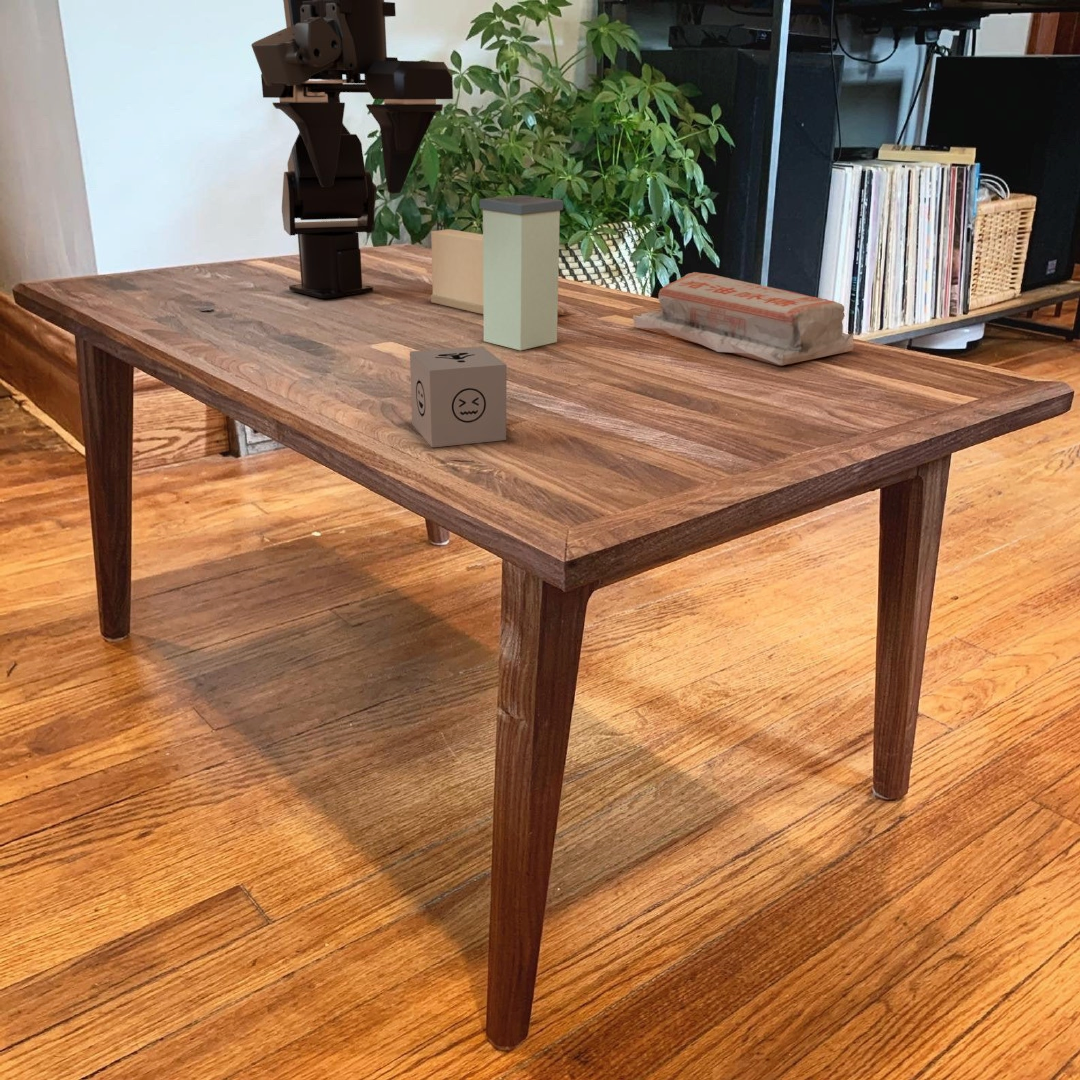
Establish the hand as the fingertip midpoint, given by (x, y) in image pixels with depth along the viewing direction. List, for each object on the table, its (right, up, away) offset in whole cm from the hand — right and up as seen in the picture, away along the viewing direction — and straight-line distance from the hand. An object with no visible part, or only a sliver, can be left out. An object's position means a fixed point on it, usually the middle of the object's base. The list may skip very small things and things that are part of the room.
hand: (359, 189), depth 93 cm
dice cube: (+10, -23, -22) cm, 34 cm away
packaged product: (+34, -13, +3) cm, 36 cm away
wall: (+10, -8, +13) cm, 18 cm away
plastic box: (+14, -13, +1) cm, 19 cm away
